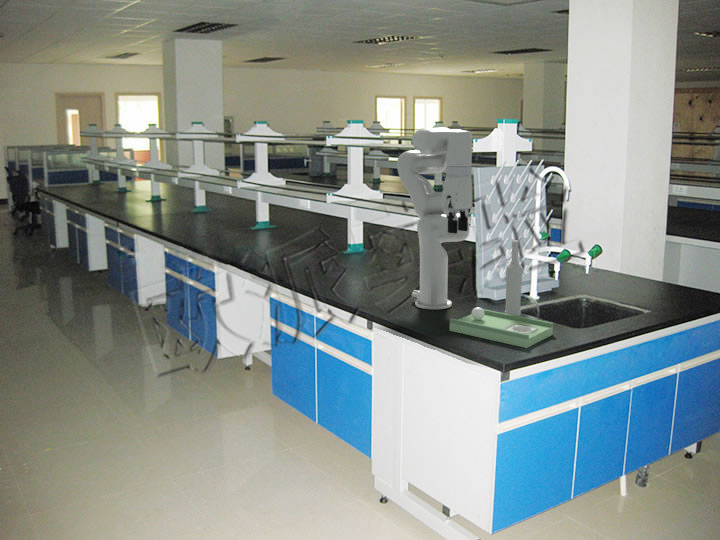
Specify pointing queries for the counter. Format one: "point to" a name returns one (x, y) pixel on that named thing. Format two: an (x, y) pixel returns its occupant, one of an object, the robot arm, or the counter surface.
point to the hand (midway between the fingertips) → (457, 231)
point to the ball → (478, 313)
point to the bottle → (513, 283)
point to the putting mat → (504, 328)
